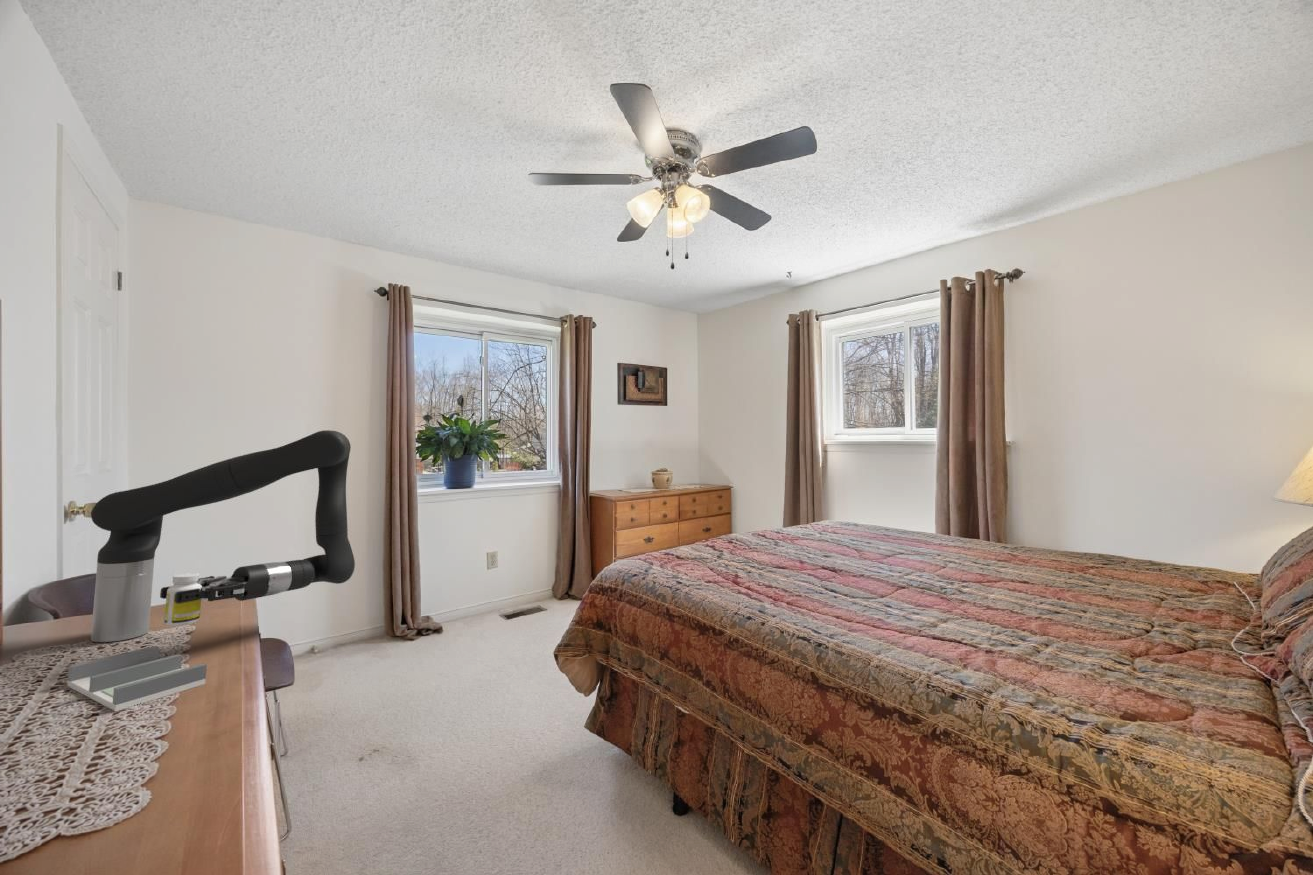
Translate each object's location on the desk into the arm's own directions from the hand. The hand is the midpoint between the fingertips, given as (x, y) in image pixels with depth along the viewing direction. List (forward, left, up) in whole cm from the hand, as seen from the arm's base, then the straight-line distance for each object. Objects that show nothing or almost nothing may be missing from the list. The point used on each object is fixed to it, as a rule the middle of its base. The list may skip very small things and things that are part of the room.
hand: (168, 595), depth 104 cm
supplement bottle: (0, +3, -6) cm, 7 cm away
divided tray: (+8, -7, -14) cm, 17 cm away
